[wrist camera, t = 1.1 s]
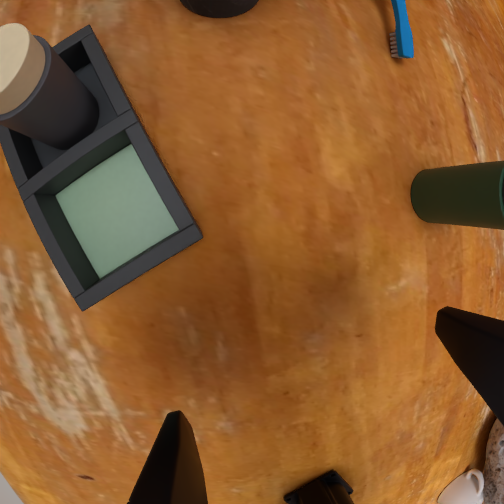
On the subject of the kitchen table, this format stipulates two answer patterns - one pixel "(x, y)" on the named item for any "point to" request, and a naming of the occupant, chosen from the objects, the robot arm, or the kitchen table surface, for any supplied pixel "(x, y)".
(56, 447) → the kitchen table surface
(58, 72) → the grey spice bottle
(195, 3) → the travel mug
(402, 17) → the toothbrush
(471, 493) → the cup
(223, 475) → the kitchen table surface
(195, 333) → the kitchen table surface
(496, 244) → the kitchen table surface
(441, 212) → the spice bottle
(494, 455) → the stone
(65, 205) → the cup holder
